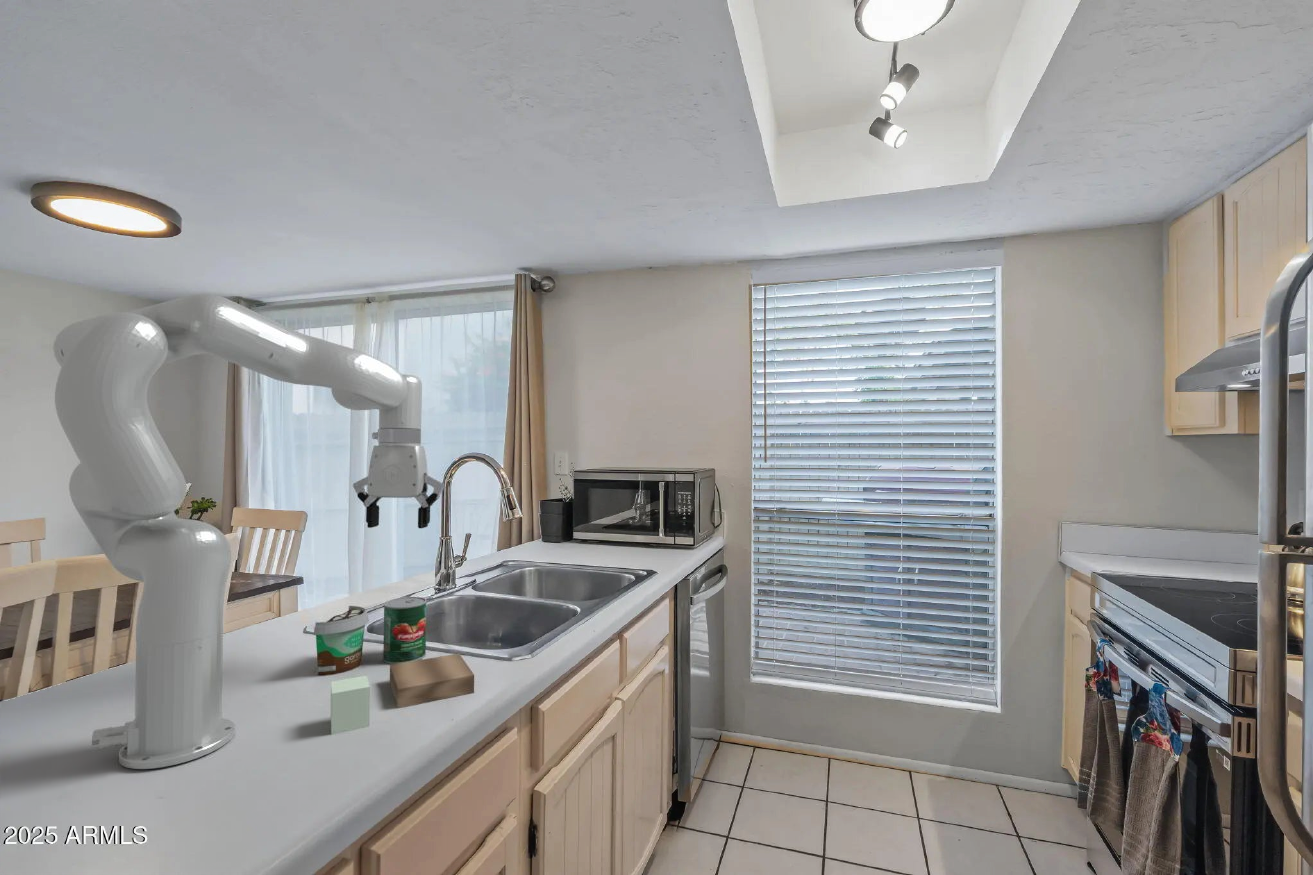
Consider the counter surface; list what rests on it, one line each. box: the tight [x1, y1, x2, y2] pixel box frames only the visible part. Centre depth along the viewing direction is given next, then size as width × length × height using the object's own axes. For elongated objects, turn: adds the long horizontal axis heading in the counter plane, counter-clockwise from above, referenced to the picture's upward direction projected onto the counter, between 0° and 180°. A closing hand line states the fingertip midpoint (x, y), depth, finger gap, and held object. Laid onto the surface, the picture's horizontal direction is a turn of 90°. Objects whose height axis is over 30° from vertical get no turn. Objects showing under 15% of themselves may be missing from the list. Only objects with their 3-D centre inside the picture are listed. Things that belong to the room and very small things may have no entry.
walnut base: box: [389, 653, 475, 709], centre depth 103 cm, size 12×12×3 cm
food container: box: [313, 605, 370, 677], centre depth 113 cm, size 12×6×10 cm, turn 179°
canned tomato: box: [382, 596, 427, 665], centre depth 118 cm, size 8×8×11 cm
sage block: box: [330, 675, 371, 736], centre depth 90 cm, size 5×5×6 cm
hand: (398, 527), depth 114 cm, fingers open, 9 cm apart
